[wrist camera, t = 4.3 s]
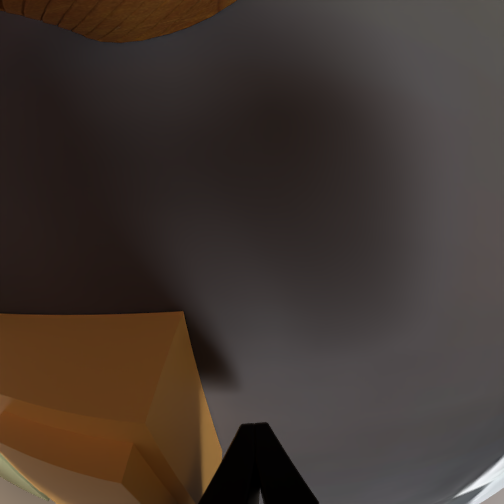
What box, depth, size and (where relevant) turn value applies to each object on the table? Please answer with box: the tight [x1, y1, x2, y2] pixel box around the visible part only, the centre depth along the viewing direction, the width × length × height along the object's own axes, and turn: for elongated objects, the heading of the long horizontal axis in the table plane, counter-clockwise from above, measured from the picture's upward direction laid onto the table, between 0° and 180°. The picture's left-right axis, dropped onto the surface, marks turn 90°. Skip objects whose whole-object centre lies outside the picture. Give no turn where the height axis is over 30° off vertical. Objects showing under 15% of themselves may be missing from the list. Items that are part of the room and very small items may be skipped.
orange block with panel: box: [0, 311, 222, 504], centre depth 7 cm, size 7×8×5 cm
